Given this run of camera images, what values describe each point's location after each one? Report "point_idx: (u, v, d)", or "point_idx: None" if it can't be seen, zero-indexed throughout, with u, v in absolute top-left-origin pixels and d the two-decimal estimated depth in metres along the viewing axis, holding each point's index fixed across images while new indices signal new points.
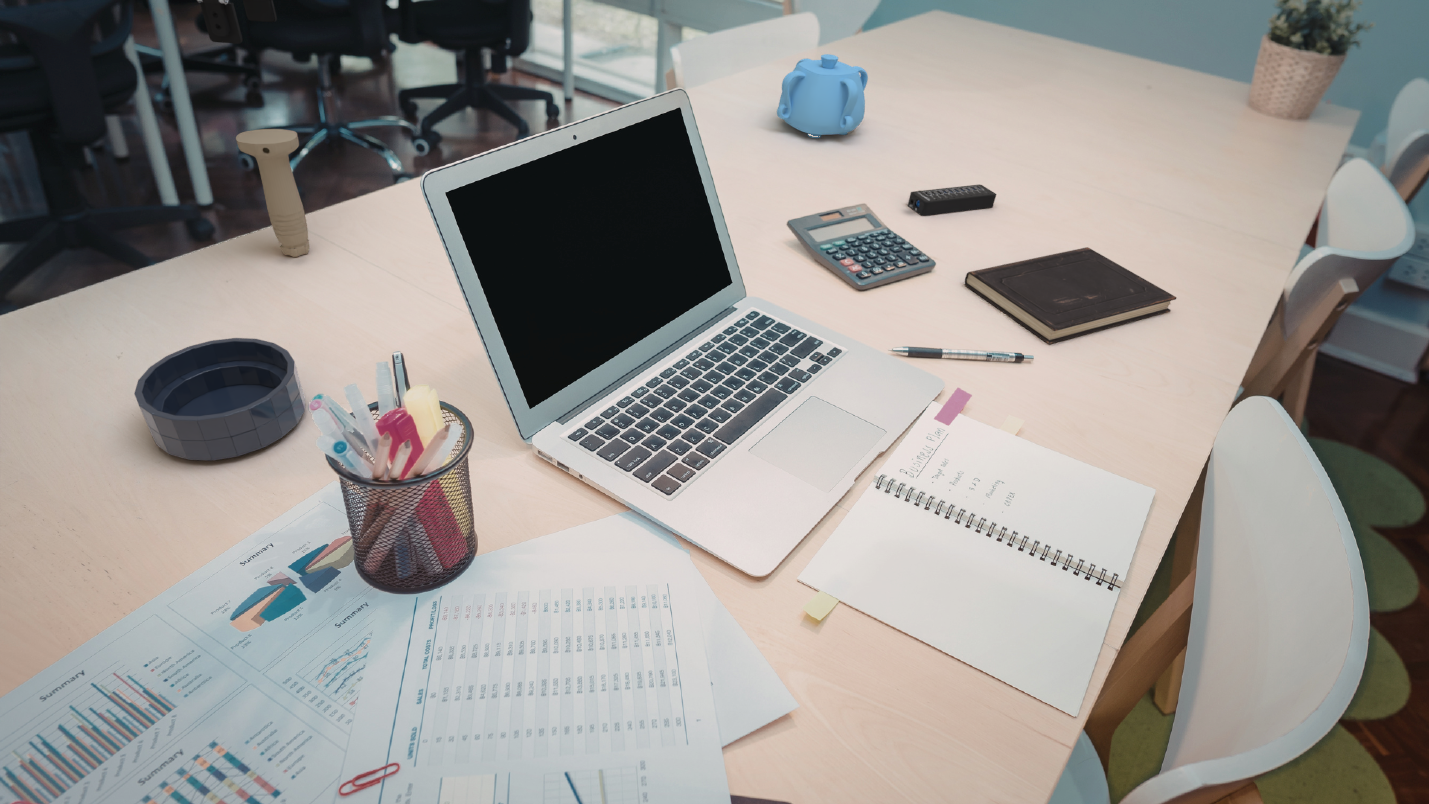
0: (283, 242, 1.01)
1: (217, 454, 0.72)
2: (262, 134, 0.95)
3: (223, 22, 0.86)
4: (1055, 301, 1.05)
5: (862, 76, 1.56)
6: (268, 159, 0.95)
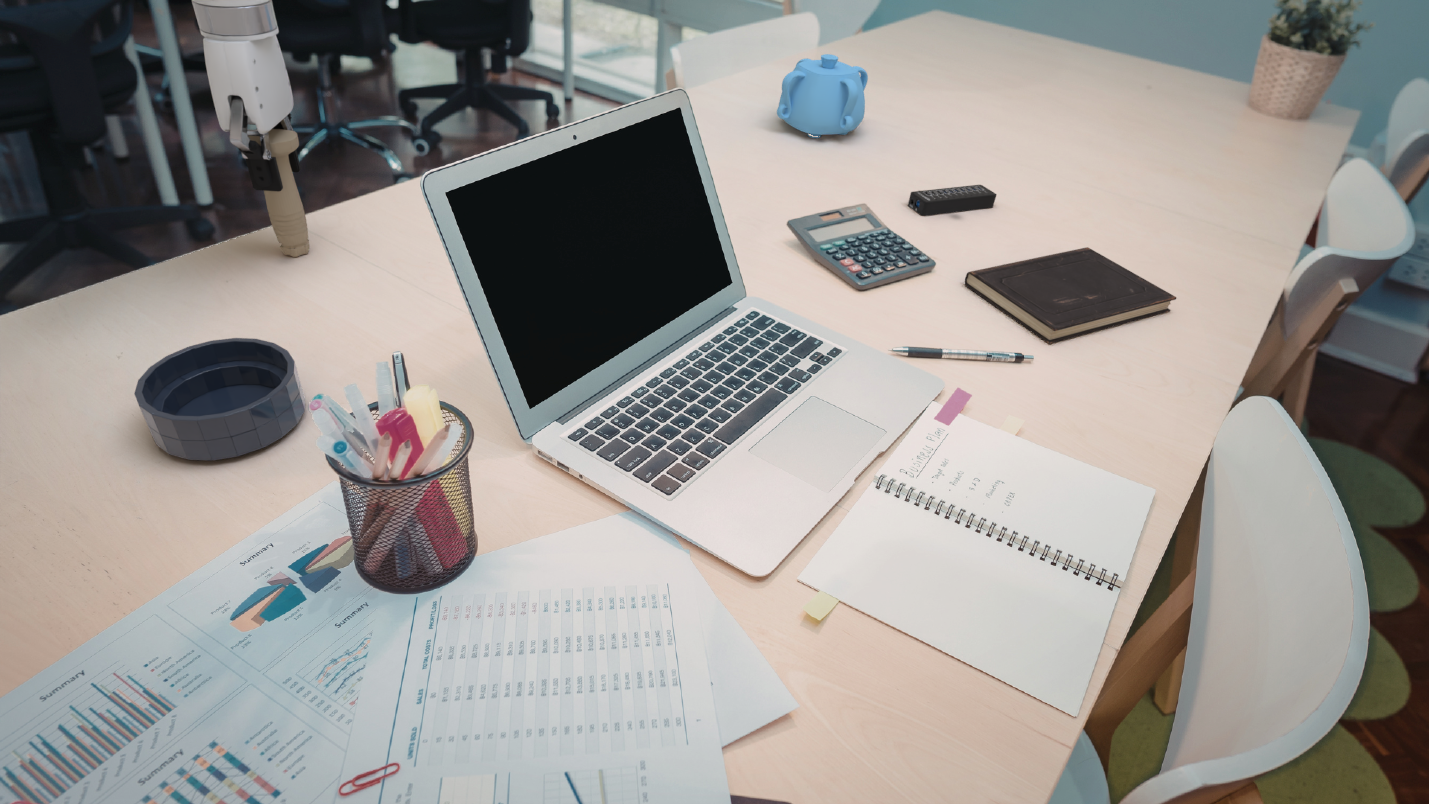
0: (283, 242, 1.01)
1: (217, 454, 0.72)
2: None
3: (266, 175, 0.94)
4: (1055, 301, 1.05)
5: (862, 76, 1.56)
6: None
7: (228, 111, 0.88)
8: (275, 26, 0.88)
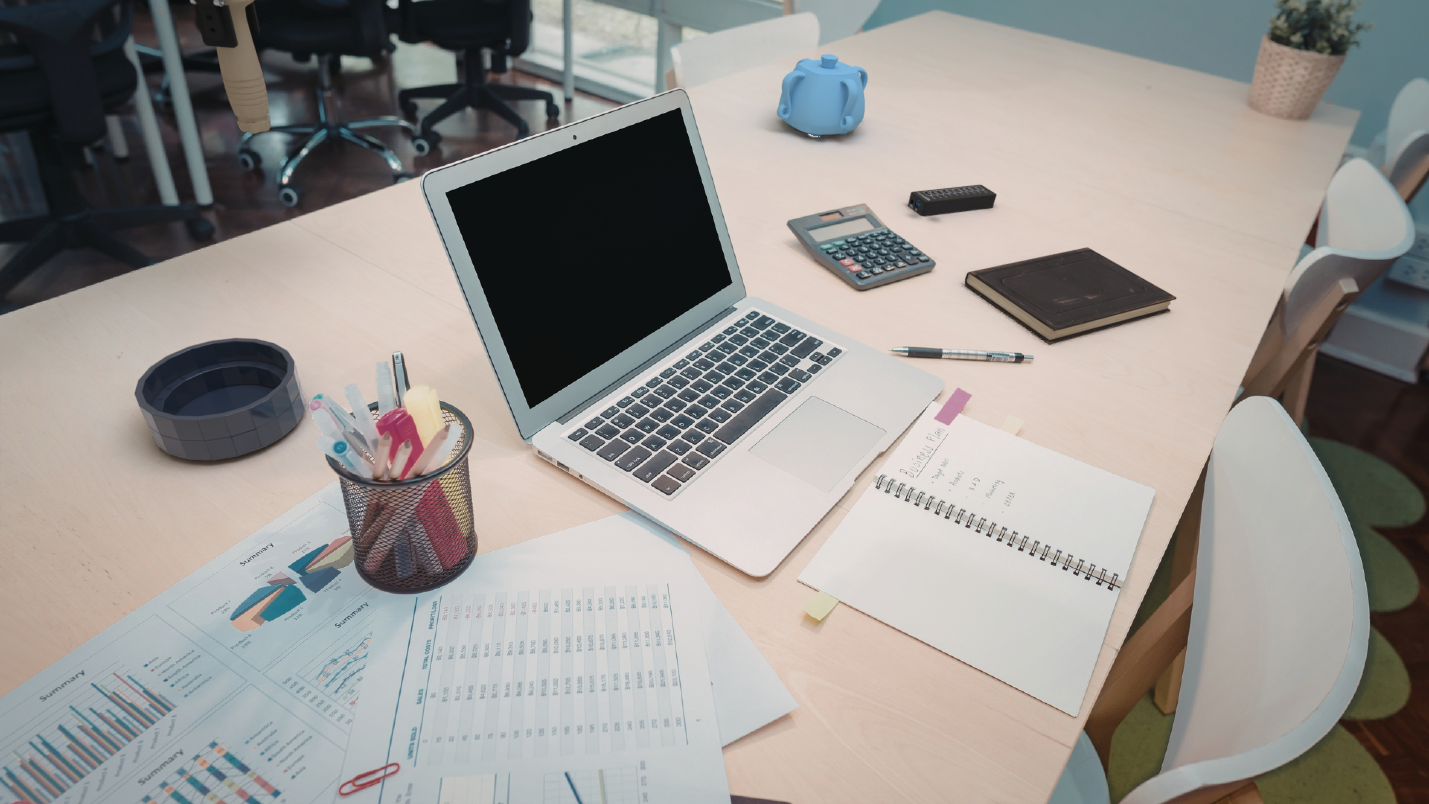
0: (240, 114, 0.89)
1: (217, 454, 0.72)
2: None
3: (218, 25, 0.82)
4: (1055, 301, 1.05)
5: (862, 76, 1.56)
6: None
7: None
8: None
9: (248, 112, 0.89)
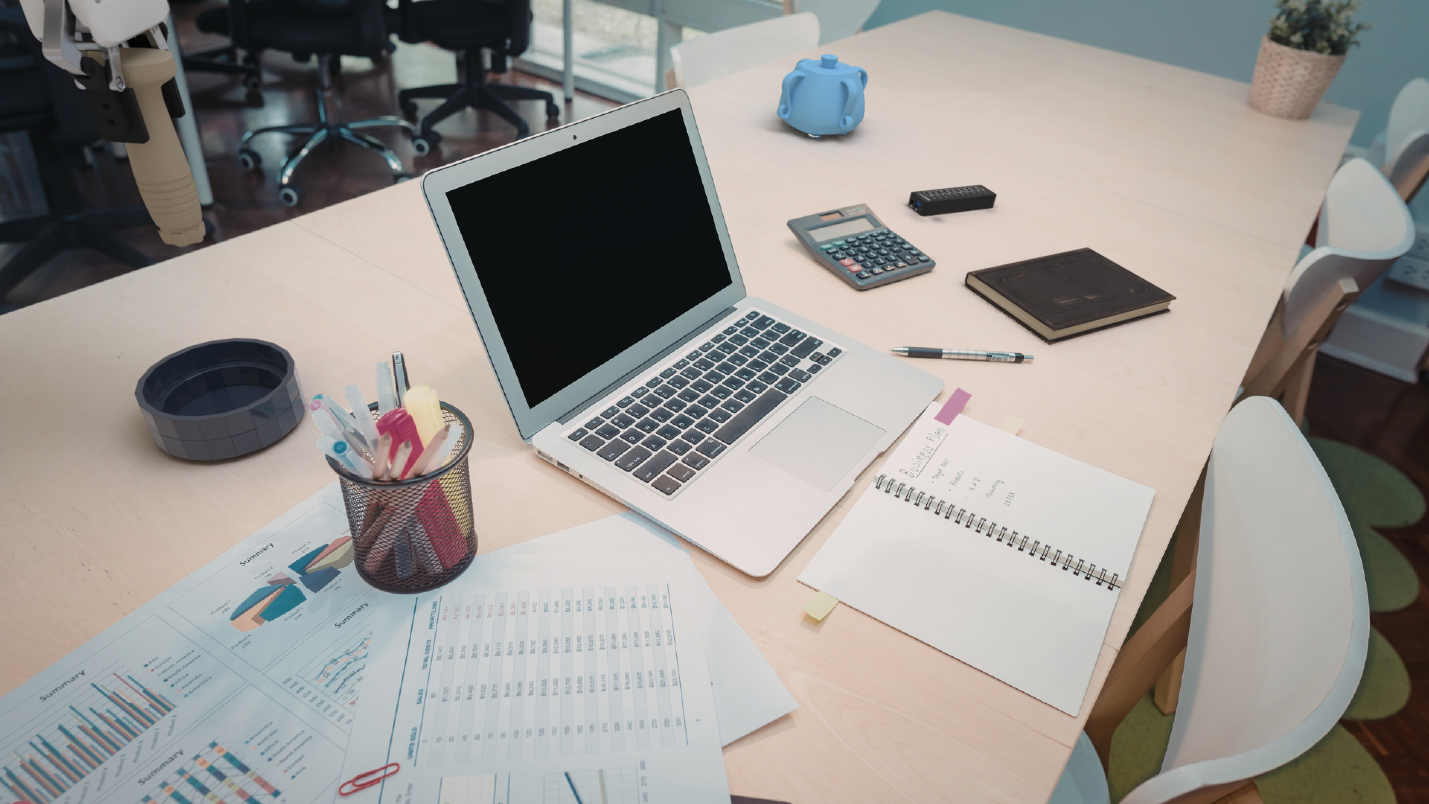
0: (161, 224, 0.67)
1: (217, 454, 0.72)
2: None
3: (118, 116, 0.59)
4: (1055, 301, 1.05)
5: (862, 76, 1.56)
6: None
7: (41, 5, 0.54)
8: None
9: (172, 221, 0.67)
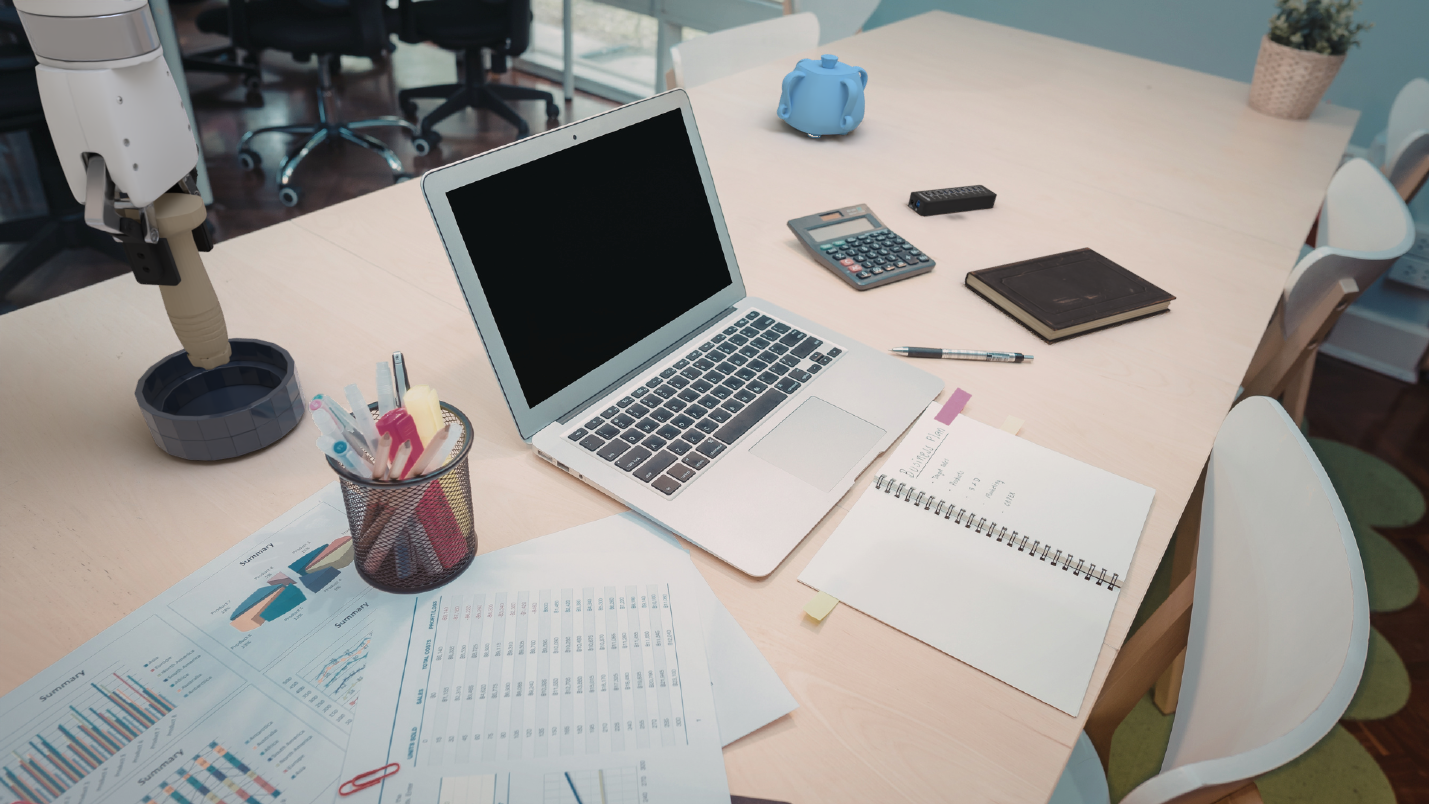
0: (190, 351, 0.71)
1: (217, 454, 0.72)
2: None
3: (153, 264, 0.63)
4: (1055, 301, 1.05)
5: (862, 76, 1.56)
6: None
7: (84, 175, 0.57)
8: (155, 45, 0.57)
9: (200, 348, 0.70)
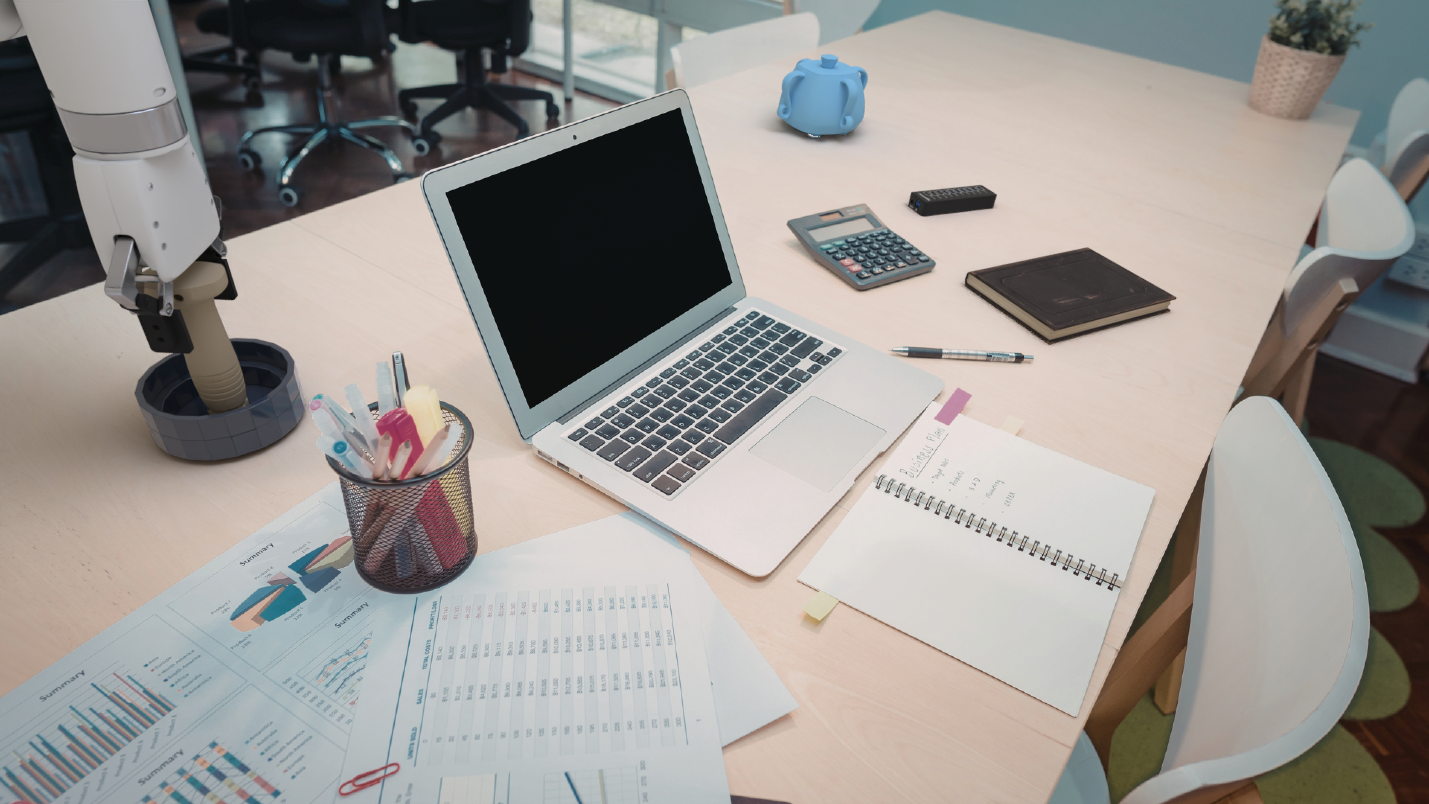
0: (211, 407, 0.74)
1: (217, 454, 0.72)
2: None
3: (167, 335, 0.65)
4: (1055, 301, 1.05)
5: (862, 76, 1.56)
6: (183, 307, 0.68)
7: None
8: (183, 133, 0.61)
9: (220, 405, 0.74)
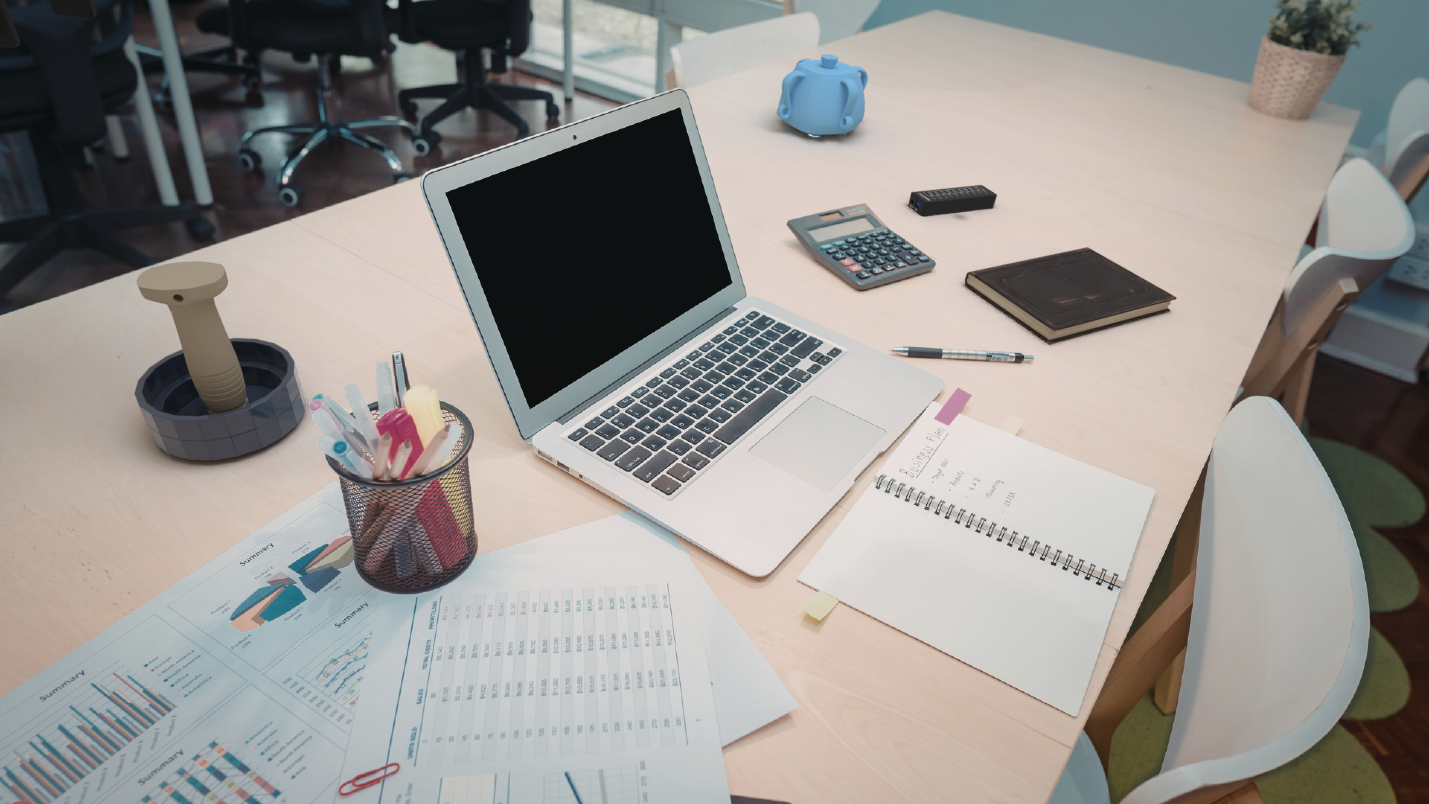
0: (211, 407, 0.74)
1: (217, 454, 0.72)
2: (176, 271, 0.68)
3: None
4: (1055, 301, 1.05)
5: (862, 76, 1.56)
6: (183, 307, 0.68)
7: None
8: None
9: (220, 405, 0.74)
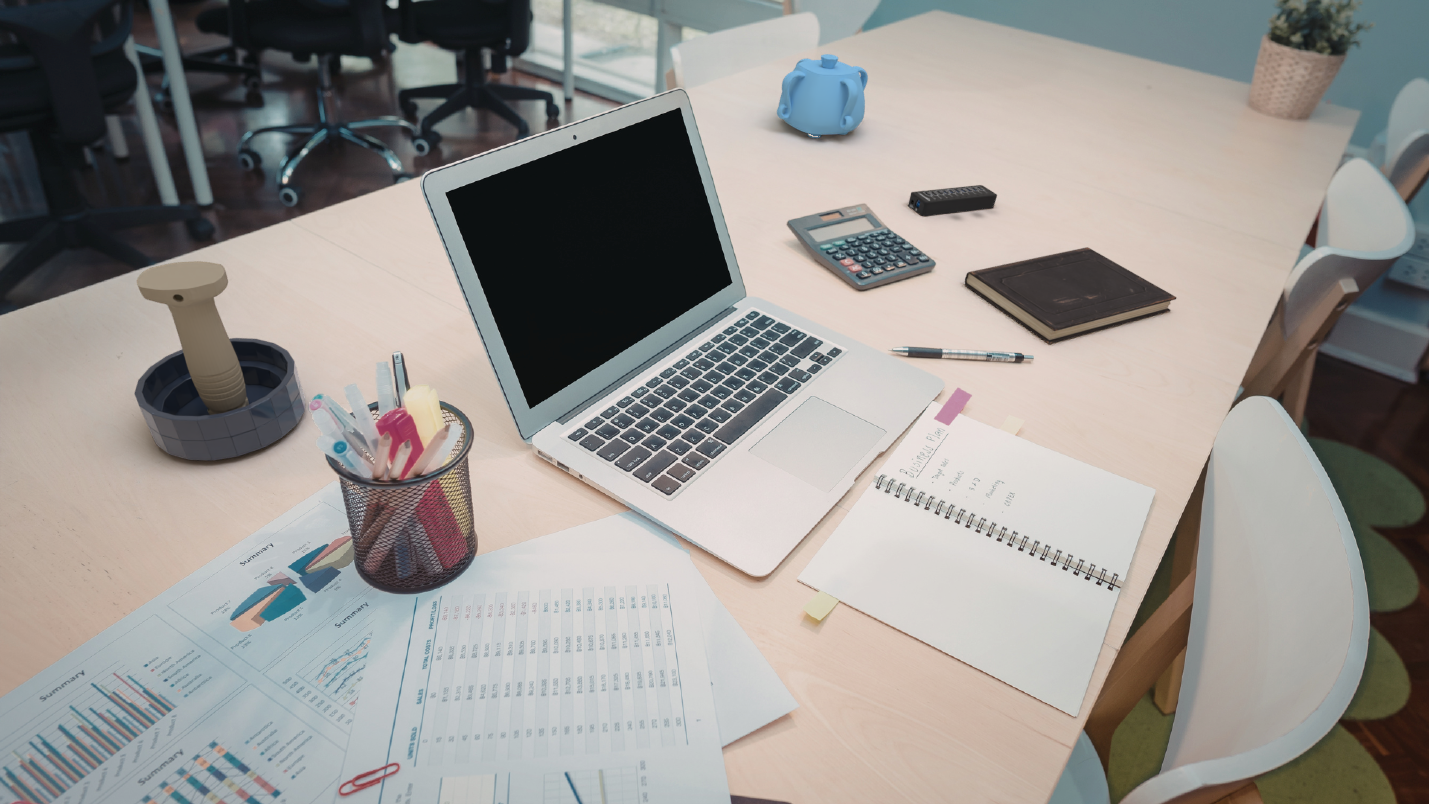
0: (211, 407, 0.74)
1: (217, 454, 0.72)
2: (176, 271, 0.68)
3: None
4: (1055, 301, 1.05)
5: (862, 76, 1.56)
6: (183, 307, 0.68)
7: None
8: None
9: (220, 405, 0.74)
